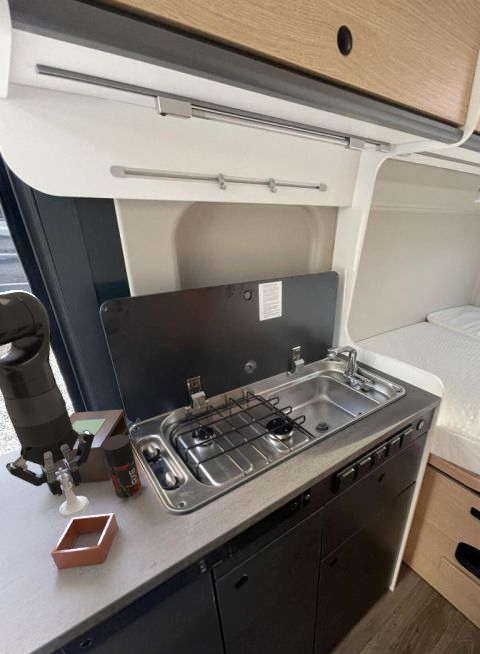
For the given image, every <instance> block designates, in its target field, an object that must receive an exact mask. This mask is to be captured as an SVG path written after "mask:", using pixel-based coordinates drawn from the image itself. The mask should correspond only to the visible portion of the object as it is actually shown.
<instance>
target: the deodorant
mask: <svg viewBox="0 0 480 654" xmlns="http://www.w3.org/2000/svg"><path fill="white" fill-rule="evenodd" d="M130 438H131V437H130ZM130 438H129V436H127V435H115V436H112V437H110V438H108V439H106V440H105V441H104V442H103V443H102V448H103V452H104V455H105V458H106V462H107V465H108V468H109V472H110V475H111V481H112V485H113V488H114V491H115V495H116V496H117V497H118V498H121V499H128V498H131V497H133V496H135V495H136V494H137V493H139V492H140V491H141V490H142V482H141V477H140V474H139V470H138V466H137V463H136V458H135V454H134V450H133V446H132V442H131V439H130Z"/></svg>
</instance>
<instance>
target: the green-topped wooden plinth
mask: <svg viewBox="0 0 480 654" xmlns="http://www.w3.org/2000/svg"><path fill="white" fill-rule="evenodd" d="M69 417H70V421H71V424H72V427H73V429H74V430H75V431H77V432H83V431H84V430H88V431H89V432H91V433H92V434H93V435H94V440H93V443H92V446H91V450H90V453H89V456H88V460H87V462H86V463H84V464H81V465H80V466H79V467H78V470H79V473H80V477H81V482H79V484H84V483H93V482H94V483H95V482H105V481H110V480H112V478H111V475H110V472H109V468H108V465H107V462H106V458H105V455H104V452H103V448H102V443H103V442H104V441H105V440H106V439H108V438H110V437H112V436H115V435H127V436H128V435H129V434H130V431H129V427H128V422H127V418H126V414H125V409H113V410H112V409H109V410H94V411H80V412H72V413H71V415H69ZM78 444H79V442H78V439H77V441H76V443H75V445H74V448H73V450H72V452H71V453H72V455H73V457H74V458H75V454H76V451H77V448H78ZM54 467H55V471H54V472H55V476H56V478H57V477H58V476H59V475H56V472H58V471H59V468H62V470H65V469H66V468H67V466H66V465H65V463H64V461H63V460H59V461H57V462H56V463H54ZM66 473H67V472H66ZM69 482H70V479H69ZM60 486H61V484H60Z"/></svg>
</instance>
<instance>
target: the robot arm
mask: <svg viewBox="0 0 480 654" xmlns="http://www.w3.org/2000/svg"><path fill="white" fill-rule="evenodd" d="M9 344H10V348H9V349H8V351H7V352H6V353H4V354H3V355H1V356H0V393H1V395H2V397H3V401H4V406H5V410H6V413H7V415H8V417H9V420H10V422H11V425H12V428H13V429H14V432H15V434H16V437H17V439H18V441H19V445H20V447H21V449H20V452H19V454H20V456H19V457H18V458H17V459H16V460H14V461H10V462H7V464H6V465H5V468H6V470H7V471H8V472H9V473H10V475H12V476H14V477H16V478H18V479H20V480H22V481H25V482H27V483H29V484H31V485H33V486H35V487H41V486H42V485H43V484H46V485H47V487H48V490H49V491H50V493H51V494H52V495H53V496H58V497H61V496H63V495H64V491H62V489H61V485H60V483H59V481H58V479H57V478H56V476H55V472H54V471H55V467H54V463H56V462H57V461H59V460H63V461H64V463H65V465H66V466H67V468H66V469H67V473H68V474H69V475H70V478H69V479H70V482H72V483H73V487H74V488H77V487H79V486H80V483H79V482H81V477H80V473H79V470H78V467H79V466H80V465H81V464H84V463H86V462H87V460H88V456H89V453H90V450H91V446H92V443H93V440H94V435H93V434H92V433H91V432H89V431H88V430H84V431H83V432H77V431H75V430H74V429H73V427H72V424H71V421H70V415H69V412H68V409H67V402H66V400H65V399H64V395H63V394H62V391H61V389H60V387H59V386H58V384H57V380H56V377H55V374H54V371H53V368H52V365H51V361H50V356H51V355H50V354H51V323H50V317H49V314H48V311H47V309H46V307H45V306H44V304H43V303H42V301H41V300H40V299H39V298H37V297H36V296H35V295H34V294H32V293H31V292H27V291H24V290H10V291H5V292H0V347H2V346H6V345H9ZM77 439H78V442H79V444H78V448H77V451H76V454H75V458H74V457H73V455H72V453H71V452H72V450H73V448H74V445H75V443H76V441H77ZM27 462H30V463H33V464H37V465H39V468H40V469H41V473H36V472H34V471H32V470H30V469H28V468H29V466H28V465H27Z"/></svg>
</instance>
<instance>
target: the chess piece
mask: <svg viewBox="0 0 480 654" xmlns="http://www.w3.org/2000/svg"><path fill="white" fill-rule="evenodd" d="M66 472H67V469H65V470H62V468H59V471H58V472H56V475H59V476H58V477H57V479H58V481H59V483H60V484H61V485H60V486H61V489H62V491H63V492H64V495H65V501H64V502H62V504H61V505H60V506H59V508H58V514H59V516H60V517H61V518H63V519H71V518H72V517H78V516H79V515H81V514H82V513H84V512H85V511H86V510H87V508H88V507H89V505H90V501H89V499H88V498H87V497H86V496H85V495H84V496H83V495H76V494H75V493H74V492H73V490H72V489H73V487H74V486H73V483H72V482H69V478H70V475H69V474H68V473H66Z"/></svg>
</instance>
